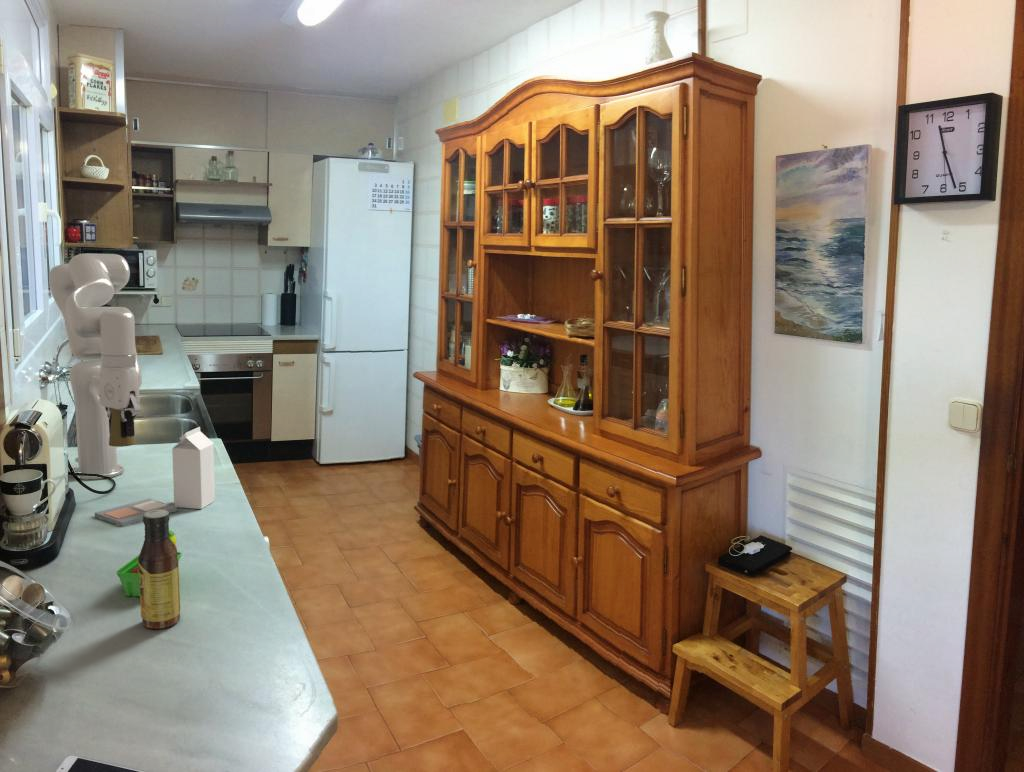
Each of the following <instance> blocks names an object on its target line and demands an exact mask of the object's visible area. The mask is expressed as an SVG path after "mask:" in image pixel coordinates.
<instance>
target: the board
mask: <svg viewBox="0 0 1024 772" xmlns="http://www.w3.org/2000/svg"><path fill="white" fill-rule="evenodd" d="M152 510H166V511H168V512H169V514H172V512H173V513H176V512H177V511H178V507H174V505H170V504H167V503H165V502H161V501H158V500H157V499H156V500H155V499H153V498H146V499H142V500H139V501H134V502H130V503H127V504H124V505H123V504H122V505H118V506H114V507H112V508H107V509H103V510H100V511H95V512H94V517H95V518H97V517H98V518H97V519H100V518H101V519H100V520H102V519H103V521H105V520H106V522H108V521H109V522H108V523H111V524H113V523H115V524H114V525H116V524H118V525H117V526H119V525H120V526H119V527H122V526H123V527H126V526H125V525H127V526H129V524H130V525H134V524H137V523H141V522H143V514H144V513H146V512H149V511H152ZM175 511H176V512H175ZM136 522H137V523H136ZM133 523H134V524H133Z"/></svg>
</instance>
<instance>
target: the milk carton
mask: <svg viewBox="0 0 1024 772" xmlns="http://www.w3.org/2000/svg"><path fill="white" fill-rule="evenodd" d="M214 449H215V448H214V442H213V441H212V440H211V439H210V438H208V437H207V436H206V435H205V434H204V433H203V432H202V431H201V427H200V426H198V427H196V428H193V429H191V430H189V431H187V432H185V433H184V434H183V435H181V436H180V437H179V442H178V443H176V445H174V446H173V447H172V449H171V450H172V451H171V453H172V455H171V456H172V477H173V478H172V479H173V480H172V481H173V506H174V507H177V508H181V509H183V508H184V509H199V510H203V509H204V508H206V507H207V506H209V505H210V504H212V503H214V502H215V500H216V495H215V494H216V491H215V490H216V488H215V487H216V486H215V456H214V454H215V453H214V452H215V450H214Z"/></svg>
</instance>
